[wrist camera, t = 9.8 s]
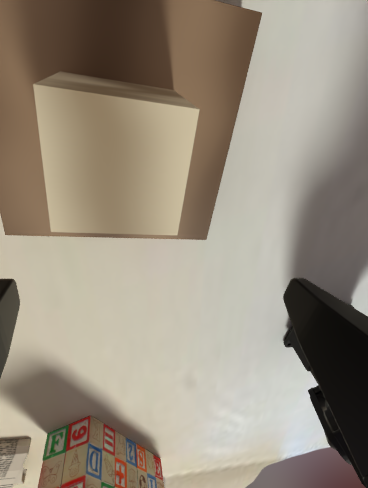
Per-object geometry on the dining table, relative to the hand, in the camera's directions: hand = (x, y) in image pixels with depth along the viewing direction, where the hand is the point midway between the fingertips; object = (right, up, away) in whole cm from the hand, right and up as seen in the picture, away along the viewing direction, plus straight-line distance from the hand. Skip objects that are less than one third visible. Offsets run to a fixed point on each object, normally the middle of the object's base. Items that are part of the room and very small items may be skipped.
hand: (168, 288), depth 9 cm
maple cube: (-3, +7, +5) cm, 9 cm away
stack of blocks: (-10, -28, +32) cm, 44 cm away
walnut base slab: (-3, +8, +7) cm, 11 cm away
